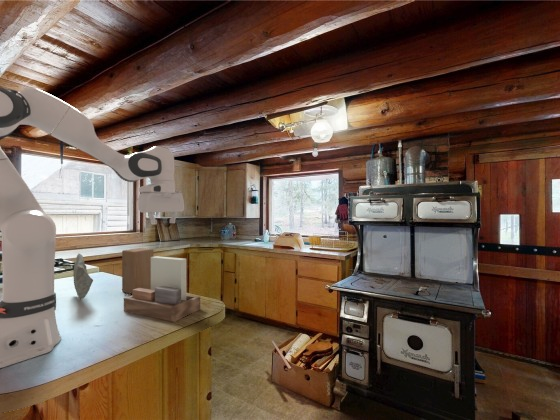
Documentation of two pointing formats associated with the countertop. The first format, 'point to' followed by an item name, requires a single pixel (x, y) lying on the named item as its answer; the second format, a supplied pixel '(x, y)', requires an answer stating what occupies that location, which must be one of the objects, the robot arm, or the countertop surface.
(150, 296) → the cedar offcut
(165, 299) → the charcoal offcut
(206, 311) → the countertop surface
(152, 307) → the walnut tray
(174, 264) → the white rectangular panel
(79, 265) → the rock
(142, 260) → the wooden block
